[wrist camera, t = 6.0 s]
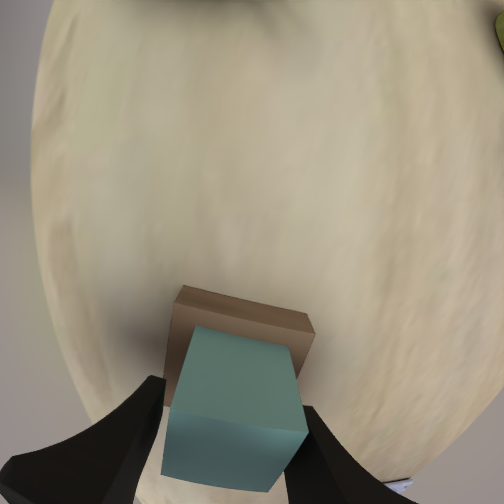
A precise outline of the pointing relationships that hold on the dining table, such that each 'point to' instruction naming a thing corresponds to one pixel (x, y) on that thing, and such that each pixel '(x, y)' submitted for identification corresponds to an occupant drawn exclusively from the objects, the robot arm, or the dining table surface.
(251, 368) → the teal brick
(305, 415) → the robot arm
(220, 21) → the dining table surface
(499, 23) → the plant pot
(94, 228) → the dining table surface
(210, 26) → the dining table surface
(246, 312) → the base brick
